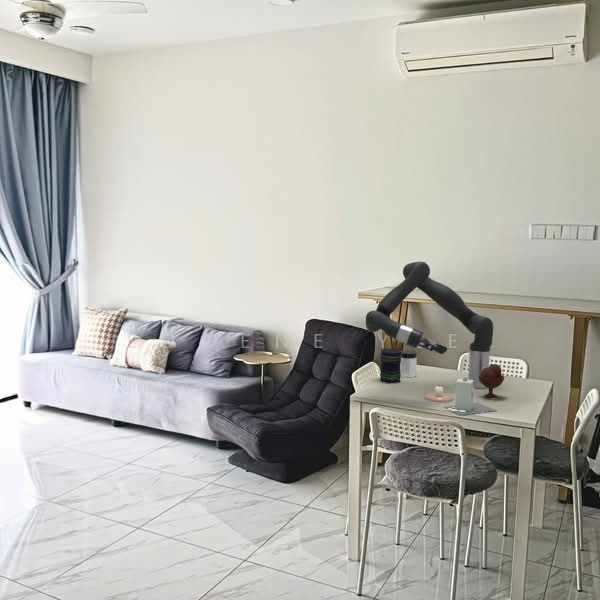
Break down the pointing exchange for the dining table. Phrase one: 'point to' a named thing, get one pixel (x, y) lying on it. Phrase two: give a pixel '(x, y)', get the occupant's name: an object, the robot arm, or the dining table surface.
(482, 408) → the mat
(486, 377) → the ice cream bowl
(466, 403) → the tall green carton
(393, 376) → the storage jar
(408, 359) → the jar
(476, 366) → the robot arm
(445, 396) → the saucer
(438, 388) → the candle
